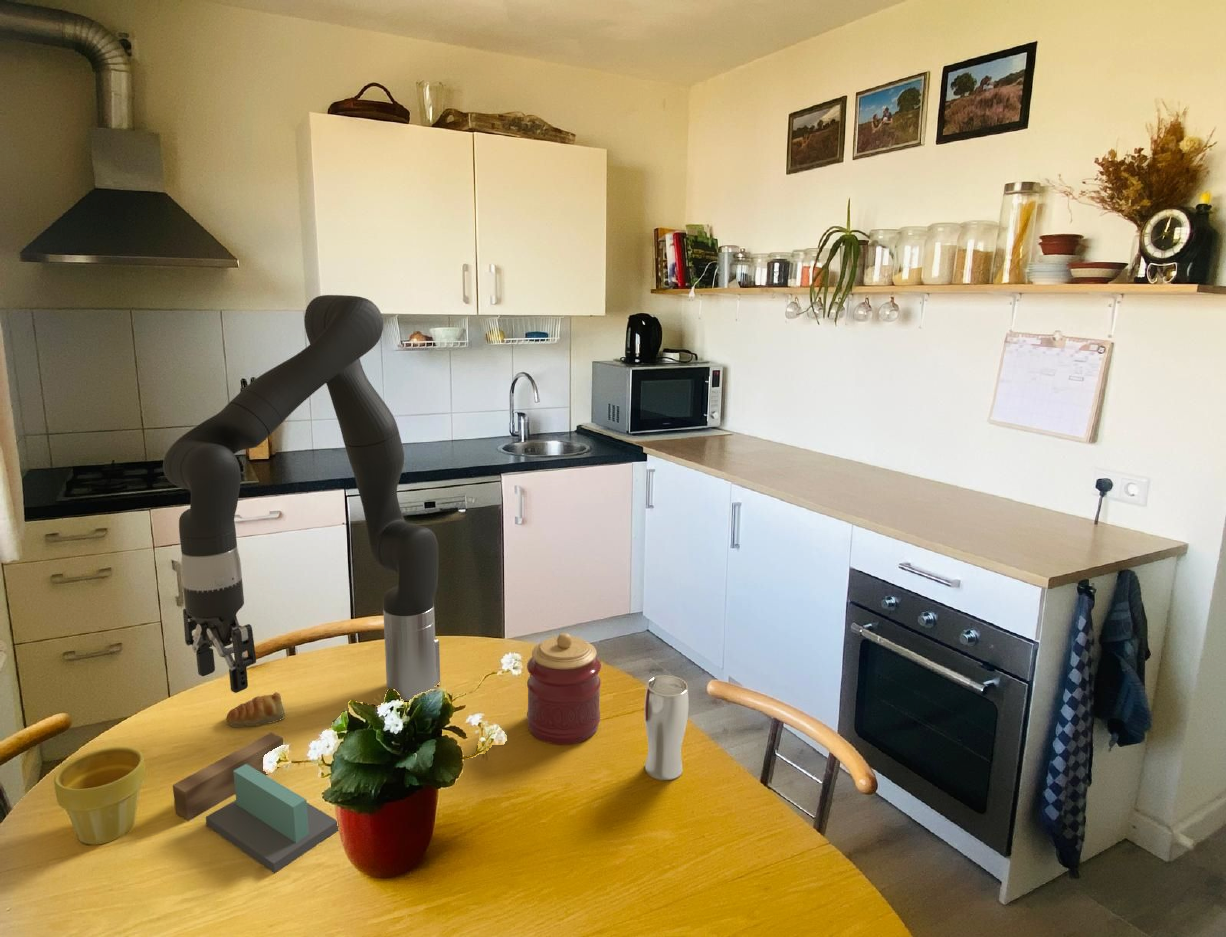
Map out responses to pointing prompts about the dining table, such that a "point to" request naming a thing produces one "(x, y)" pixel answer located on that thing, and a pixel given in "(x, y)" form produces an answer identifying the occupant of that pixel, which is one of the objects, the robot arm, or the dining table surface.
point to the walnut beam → (219, 778)
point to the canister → (563, 690)
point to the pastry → (257, 711)
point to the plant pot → (101, 792)
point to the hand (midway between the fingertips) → (222, 681)
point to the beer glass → (665, 725)
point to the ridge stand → (270, 820)
